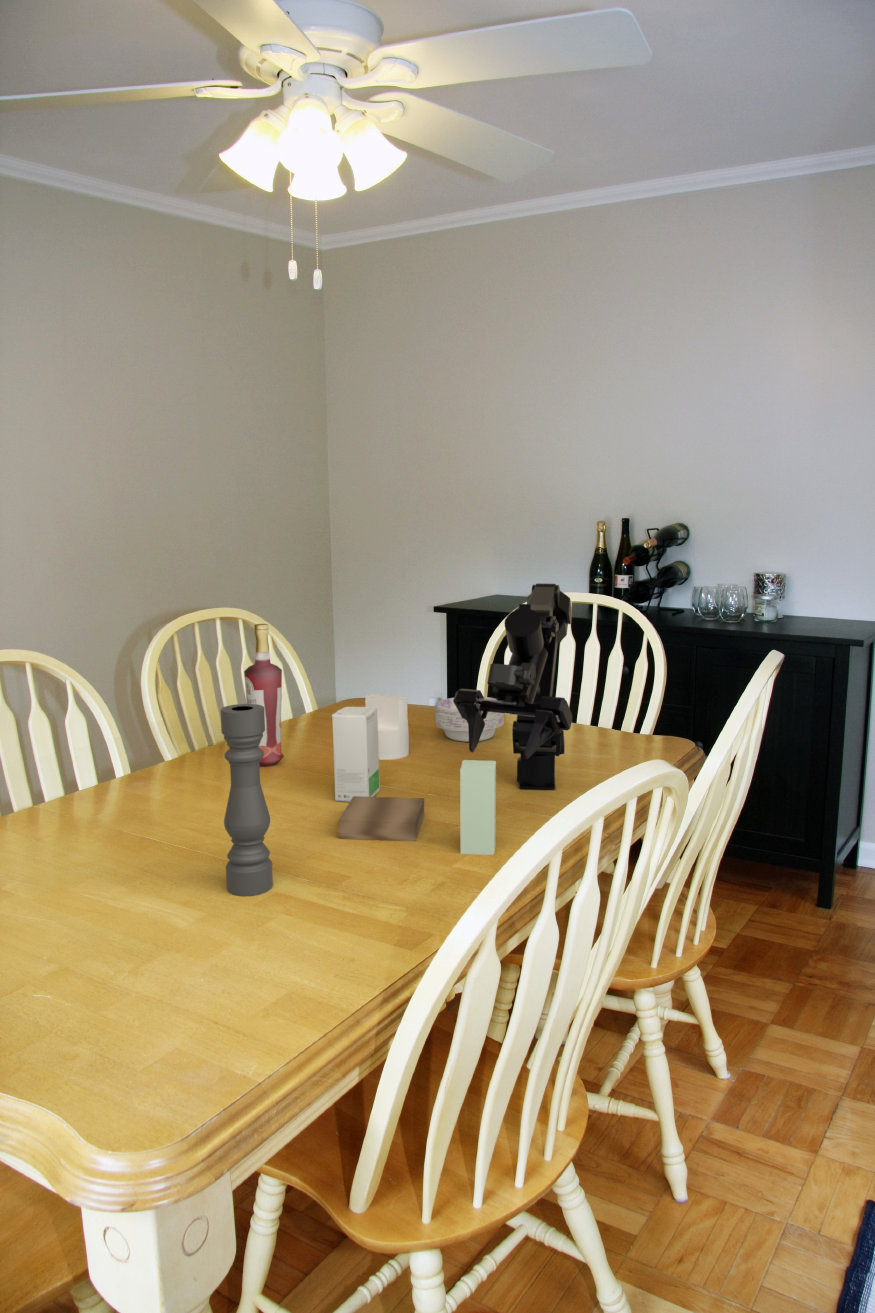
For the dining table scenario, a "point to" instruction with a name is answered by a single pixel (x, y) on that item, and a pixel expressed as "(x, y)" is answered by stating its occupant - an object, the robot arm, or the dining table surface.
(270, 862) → the candle holder
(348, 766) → the skincare box
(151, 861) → the dining table surface
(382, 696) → the base with upright slab
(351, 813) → the walnut block
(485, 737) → the paper bowls
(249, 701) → the liquor
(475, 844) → the sage pillar block
